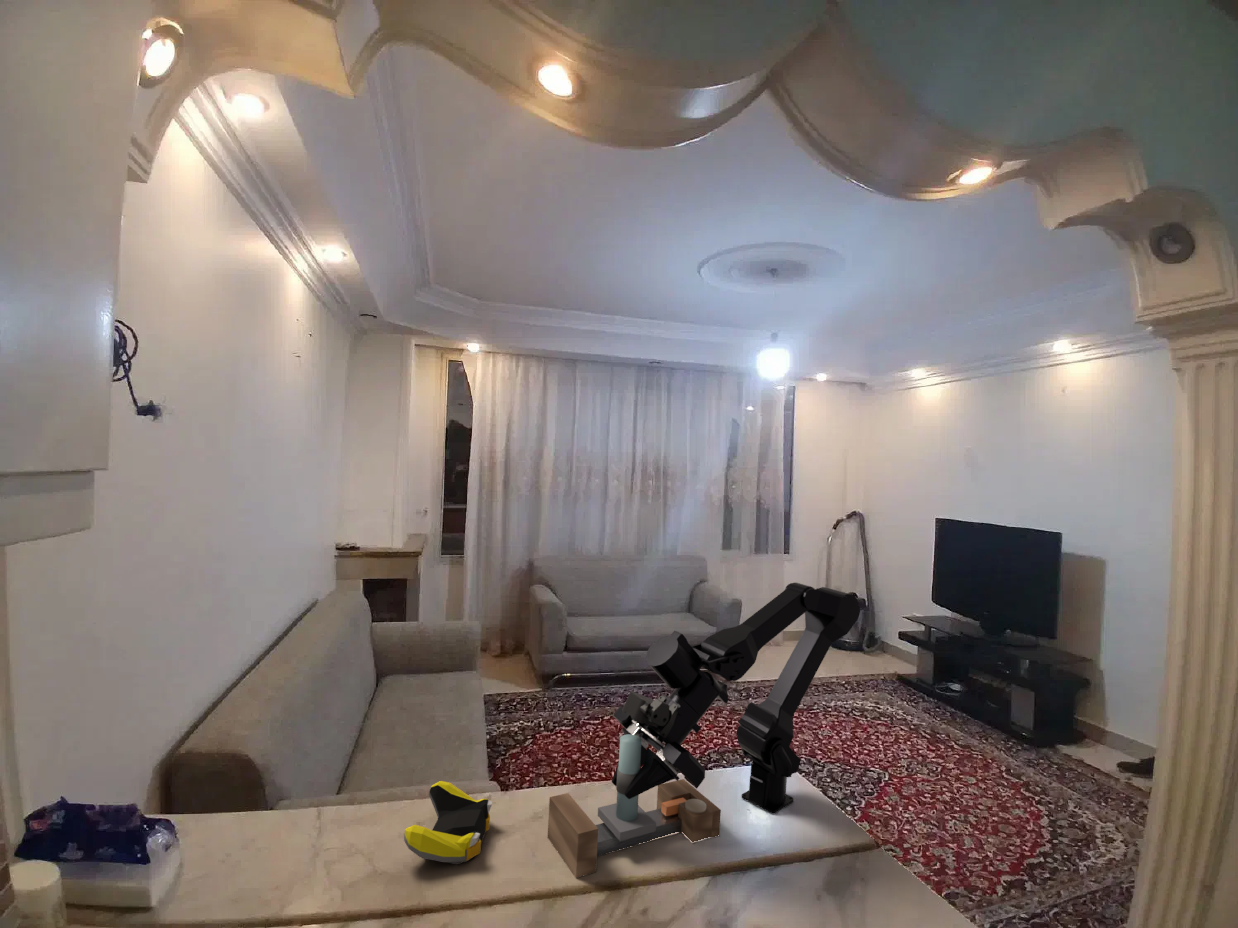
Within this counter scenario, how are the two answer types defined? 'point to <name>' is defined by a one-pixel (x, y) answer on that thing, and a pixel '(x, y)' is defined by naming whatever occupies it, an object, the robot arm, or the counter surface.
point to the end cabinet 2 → (691, 810)
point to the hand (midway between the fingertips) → (620, 790)
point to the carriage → (626, 813)
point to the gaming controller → (451, 826)
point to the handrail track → (611, 842)
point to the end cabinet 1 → (573, 834)
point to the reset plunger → (671, 806)
